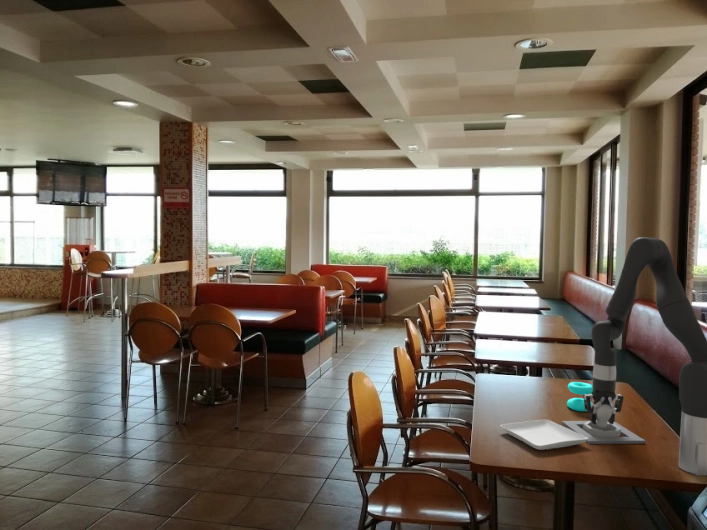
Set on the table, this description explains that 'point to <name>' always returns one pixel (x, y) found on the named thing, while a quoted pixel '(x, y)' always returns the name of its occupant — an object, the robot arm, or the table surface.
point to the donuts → (581, 390)
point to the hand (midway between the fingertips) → (602, 423)
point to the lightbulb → (603, 416)
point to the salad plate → (543, 434)
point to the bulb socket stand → (603, 433)
